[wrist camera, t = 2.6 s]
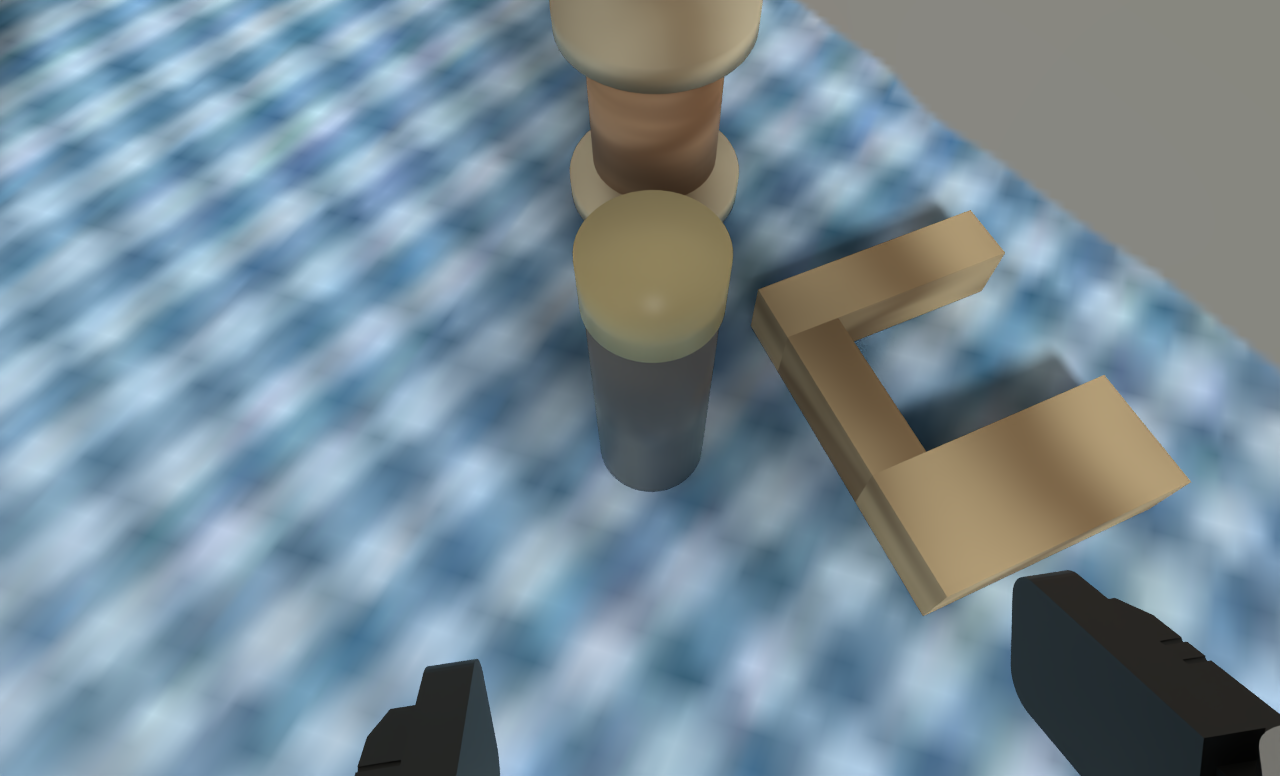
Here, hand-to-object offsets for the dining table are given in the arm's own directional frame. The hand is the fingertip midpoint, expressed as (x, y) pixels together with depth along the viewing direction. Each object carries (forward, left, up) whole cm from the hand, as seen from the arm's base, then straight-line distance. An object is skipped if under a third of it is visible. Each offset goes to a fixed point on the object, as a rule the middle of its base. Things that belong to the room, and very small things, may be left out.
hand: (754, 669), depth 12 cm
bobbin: (+8, +21, -14) cm, 26 cm away
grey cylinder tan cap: (+3, +10, -14) cm, 17 cm away
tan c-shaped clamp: (+13, +7, -14) cm, 20 cm away
